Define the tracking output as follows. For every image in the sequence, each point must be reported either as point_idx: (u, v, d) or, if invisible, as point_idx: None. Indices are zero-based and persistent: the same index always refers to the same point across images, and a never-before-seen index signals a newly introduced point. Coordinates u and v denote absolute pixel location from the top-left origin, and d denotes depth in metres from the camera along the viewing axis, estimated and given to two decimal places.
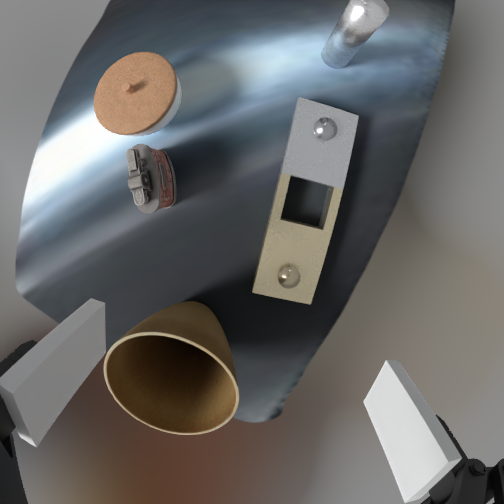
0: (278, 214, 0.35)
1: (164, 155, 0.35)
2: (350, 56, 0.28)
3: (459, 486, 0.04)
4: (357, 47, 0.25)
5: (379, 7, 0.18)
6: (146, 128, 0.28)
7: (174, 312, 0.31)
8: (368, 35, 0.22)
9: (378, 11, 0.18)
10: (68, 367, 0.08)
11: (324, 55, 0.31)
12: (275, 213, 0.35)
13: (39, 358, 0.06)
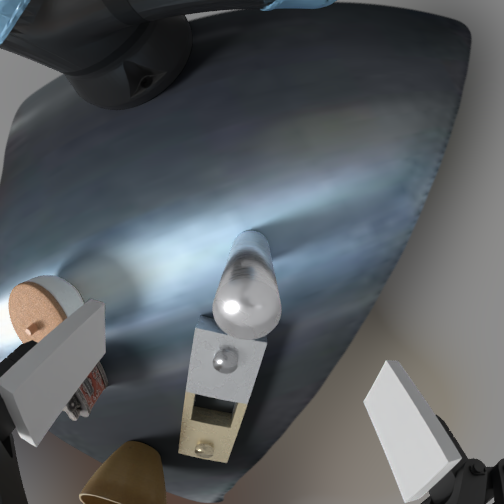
0: (188, 417, 0.34)
1: None
2: None
3: (459, 486, 0.04)
4: None
5: (262, 311, 0.16)
6: None
7: (118, 472, 0.30)
8: None
9: (258, 321, 0.17)
10: (68, 367, 0.08)
11: None
12: (186, 416, 0.34)
13: (39, 358, 0.06)
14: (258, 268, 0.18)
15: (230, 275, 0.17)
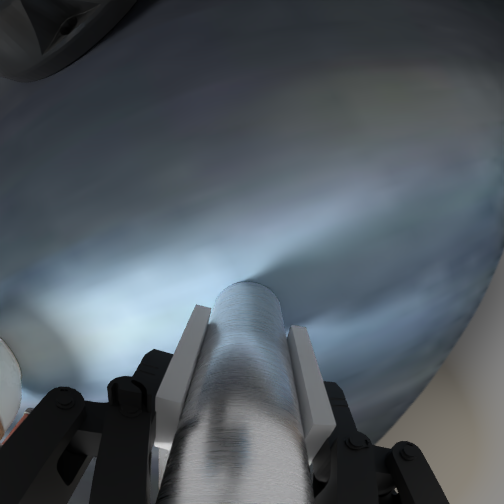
0: None
1: None
2: None
3: (335, 467, 0.06)
4: None
5: None
6: None
7: None
8: None
9: None
10: None
11: None
12: None
13: (186, 365, 0.09)
14: None
15: None
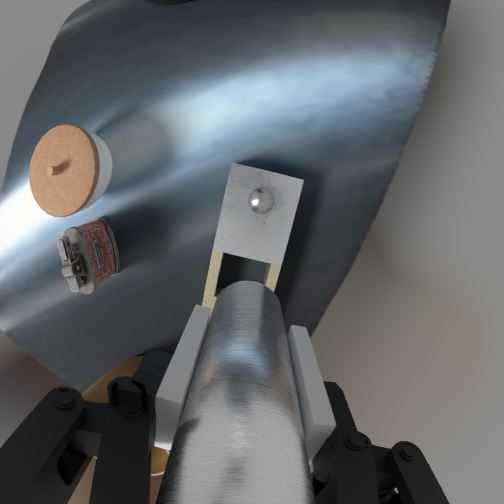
0: (212, 291, 0.34)
1: (103, 226, 0.34)
2: None
3: (335, 467, 0.06)
4: None
5: None
6: (75, 212, 0.27)
7: None
8: None
9: None
10: None
11: None
12: (209, 290, 0.34)
13: (186, 365, 0.09)
14: (265, 498, 0.04)
15: None
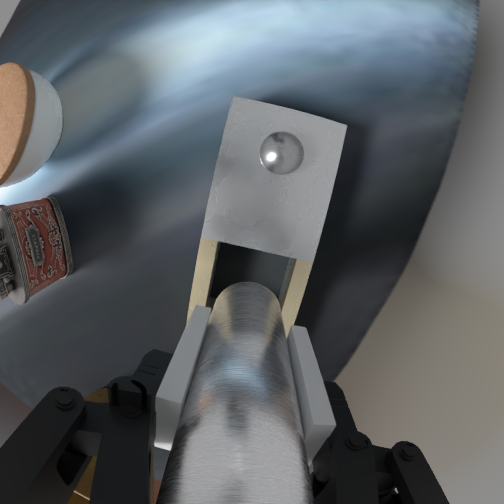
0: (200, 304, 0.21)
1: (48, 206, 0.21)
2: None
3: (335, 467, 0.06)
4: None
5: None
6: (0, 181, 0.14)
7: None
8: None
9: None
10: None
11: None
12: (196, 303, 0.21)
13: (186, 365, 0.09)
14: (265, 500, 0.04)
15: None
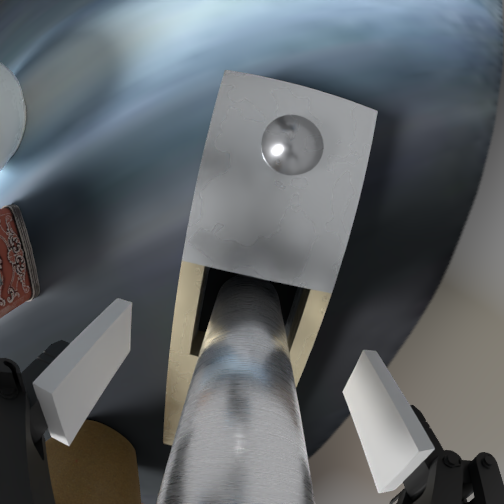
0: (185, 345, 0.16)
1: (9, 217, 0.16)
2: None
3: (432, 480, 0.05)
4: None
5: None
6: None
7: None
8: None
9: None
10: (99, 365, 0.09)
11: None
12: (179, 344, 0.16)
13: (75, 357, 0.07)
14: (264, 451, 0.05)
15: (186, 480, 0.05)
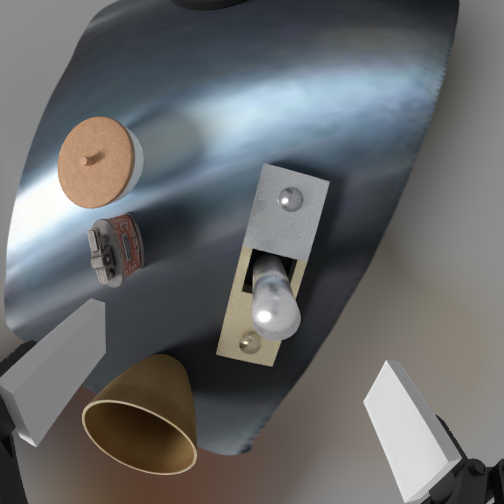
0: (239, 286, 0.35)
1: (130, 221, 0.35)
2: None
3: (459, 486, 0.04)
4: None
5: (287, 320, 0.23)
6: (106, 203, 0.29)
7: (141, 375, 0.31)
8: None
9: (284, 327, 0.23)
10: (68, 367, 0.08)
11: None
12: (236, 286, 0.35)
13: (39, 358, 0.06)
14: (283, 289, 0.25)
15: (264, 294, 0.24)
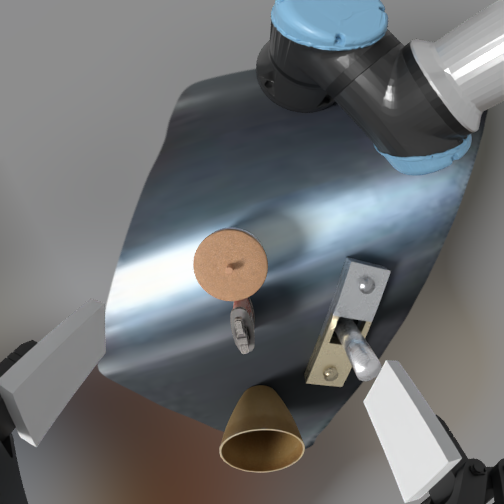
0: (328, 340, 0.49)
1: (247, 298, 0.49)
2: None
3: (459, 486, 0.04)
4: None
5: (374, 370, 0.37)
6: (244, 298, 0.42)
7: (262, 407, 0.45)
8: None
9: (372, 374, 0.37)
10: (68, 367, 0.08)
11: (335, 331, 0.50)
12: (326, 340, 0.49)
13: (39, 358, 0.06)
14: (371, 352, 0.39)
15: (362, 357, 0.38)
